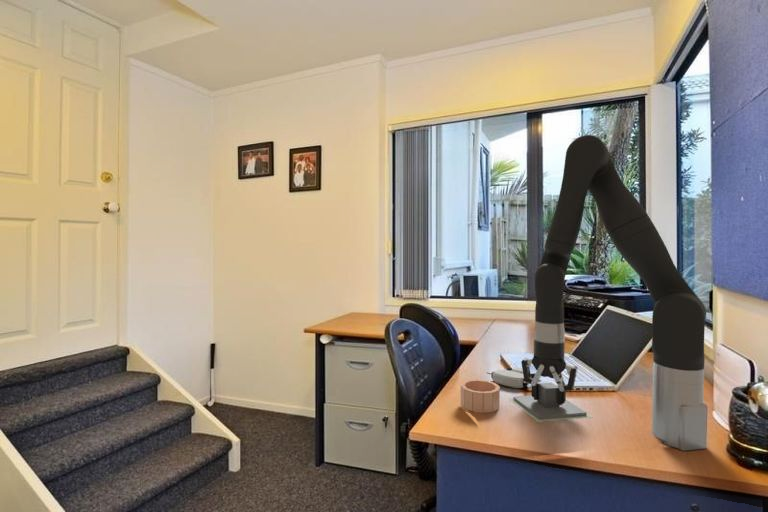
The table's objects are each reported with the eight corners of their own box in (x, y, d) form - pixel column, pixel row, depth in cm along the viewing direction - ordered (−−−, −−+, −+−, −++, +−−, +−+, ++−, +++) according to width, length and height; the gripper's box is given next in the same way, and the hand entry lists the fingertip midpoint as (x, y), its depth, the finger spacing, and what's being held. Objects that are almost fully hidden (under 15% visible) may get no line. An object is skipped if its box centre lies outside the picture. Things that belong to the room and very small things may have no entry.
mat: (592, 420, 102) (592, 416, 102) (537, 425, 99) (537, 421, 99) (557, 397, 117) (557, 394, 117) (508, 401, 114) (508, 398, 114)
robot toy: (506, 376, 138) (484, 385, 127) (507, 363, 138) (485, 370, 127) (543, 385, 129) (522, 395, 118) (543, 371, 129) (523, 379, 118)
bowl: (506, 414, 106) (506, 391, 106) (469, 417, 104) (469, 394, 104) (489, 399, 116) (489, 378, 116) (455, 402, 114) (456, 380, 114)
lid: (586, 415, 103) (586, 392, 103) (539, 419, 101) (539, 396, 100) (555, 396, 116) (556, 376, 115) (513, 399, 113) (513, 378, 113)
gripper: (581, 339, 106) (580, 403, 107) (525, 332, 115) (524, 391, 115) (576, 345, 100) (575, 413, 101) (517, 337, 108) (516, 400, 109)
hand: (548, 401), depth 108 cm, fingers closed on lid, 5 cm apart
